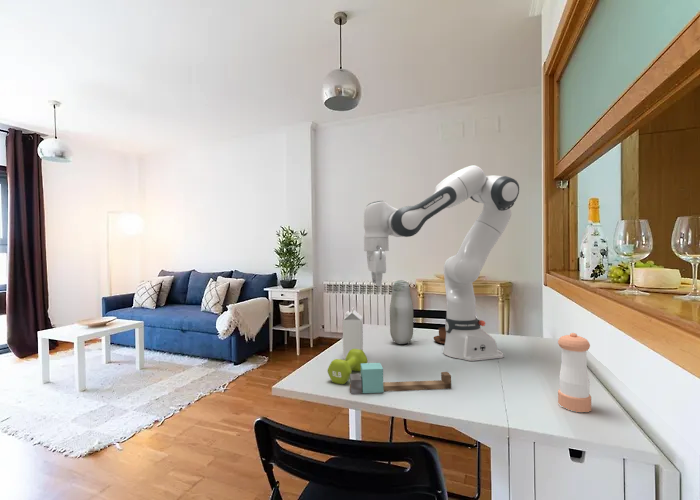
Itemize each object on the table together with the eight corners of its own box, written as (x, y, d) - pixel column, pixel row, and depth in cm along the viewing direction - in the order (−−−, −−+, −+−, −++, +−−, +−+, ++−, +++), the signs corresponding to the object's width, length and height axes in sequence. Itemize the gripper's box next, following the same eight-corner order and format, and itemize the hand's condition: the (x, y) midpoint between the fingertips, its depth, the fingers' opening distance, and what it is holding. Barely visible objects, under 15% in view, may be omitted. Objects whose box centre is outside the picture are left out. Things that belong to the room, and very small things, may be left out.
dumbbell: (348, 367, 124) (348, 346, 124) (369, 370, 120) (369, 349, 120) (325, 382, 109) (325, 360, 109) (348, 387, 105) (347, 363, 105)
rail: (446, 383, 107) (446, 370, 107) (452, 390, 102) (452, 376, 102) (349, 387, 105) (349, 374, 105) (350, 394, 100) (350, 380, 100)
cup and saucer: (428, 341, 158) (427, 327, 158) (449, 338, 163) (449, 325, 163) (445, 347, 147) (444, 333, 147) (467, 344, 152) (467, 330, 152)
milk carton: (363, 354, 138) (362, 306, 138) (361, 360, 131) (361, 309, 131) (345, 354, 138) (344, 306, 139) (343, 360, 131) (342, 309, 132)
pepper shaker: (558, 409, 89) (557, 334, 89) (558, 398, 95) (557, 328, 96) (592, 415, 85) (591, 337, 86) (590, 404, 92) (589, 331, 92)
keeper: (380, 385, 106) (380, 362, 106) (383, 392, 100) (383, 368, 100) (360, 385, 105) (360, 363, 105) (362, 393, 100) (362, 369, 100)
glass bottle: (393, 339, 161) (392, 279, 161) (415, 341, 157) (414, 279, 157) (387, 345, 152) (386, 280, 152) (410, 347, 148) (409, 281, 148)
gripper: (390, 245, 115) (390, 287, 115) (380, 246, 136) (381, 282, 135) (371, 245, 115) (371, 287, 115) (364, 246, 135) (364, 282, 135)
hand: (376, 284), depth 125 cm, fingers open, 8 cm apart
